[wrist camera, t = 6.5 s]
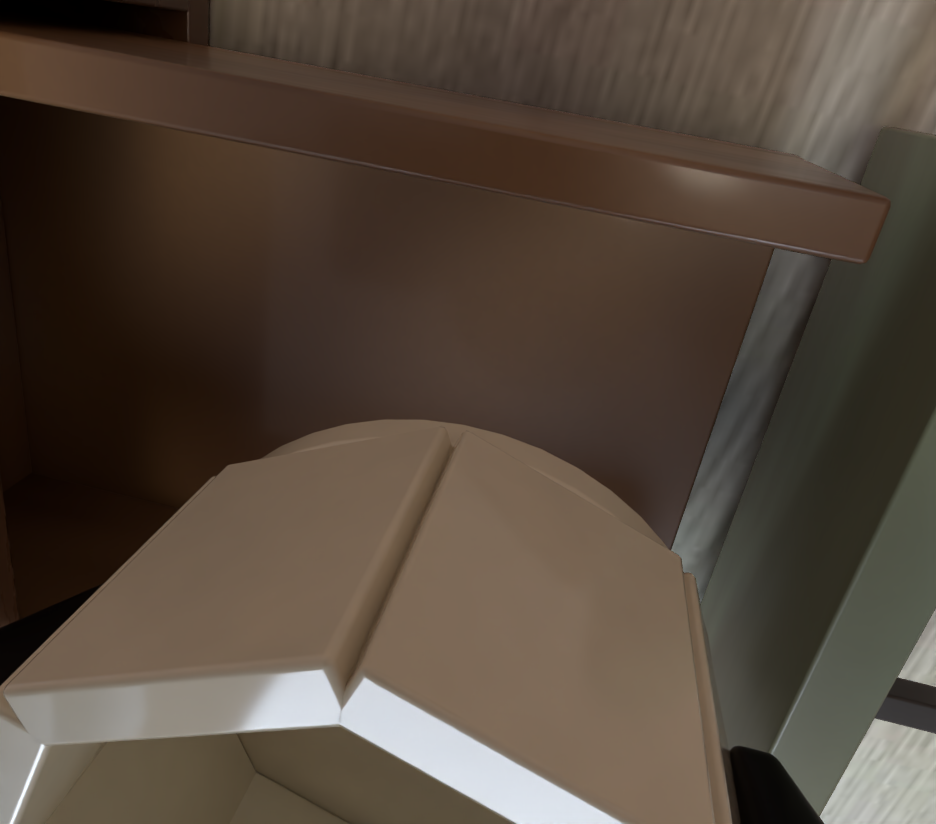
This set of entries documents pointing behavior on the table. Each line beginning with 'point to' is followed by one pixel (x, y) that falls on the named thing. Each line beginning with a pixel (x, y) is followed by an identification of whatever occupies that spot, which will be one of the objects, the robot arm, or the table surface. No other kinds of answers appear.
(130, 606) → the faceted cream cylinder
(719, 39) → the table surface
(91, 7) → the cabinet
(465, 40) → the table surface
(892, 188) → the drawer
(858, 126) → the table surface
